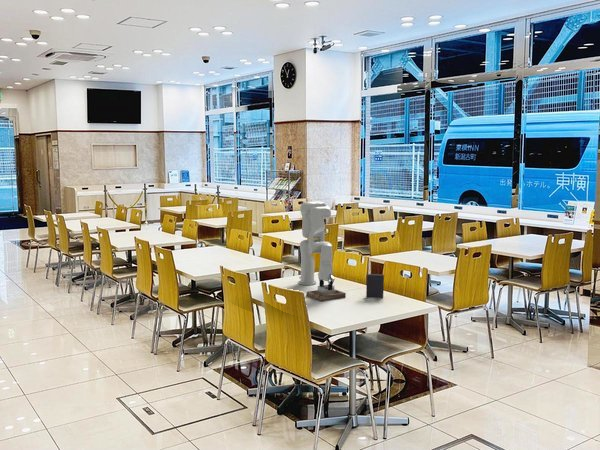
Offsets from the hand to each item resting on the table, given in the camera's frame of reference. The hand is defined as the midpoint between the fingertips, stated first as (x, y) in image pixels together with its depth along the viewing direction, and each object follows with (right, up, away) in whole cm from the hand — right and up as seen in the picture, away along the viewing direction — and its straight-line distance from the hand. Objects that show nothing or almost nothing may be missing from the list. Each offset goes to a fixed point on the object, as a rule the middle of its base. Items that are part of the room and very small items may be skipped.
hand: (325, 288), depth 379 cm
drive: (0, -4, 0) cm, 4 cm away
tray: (0, -5, 0) cm, 6 cm away
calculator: (+32, -6, 0) cm, 33 cm away
